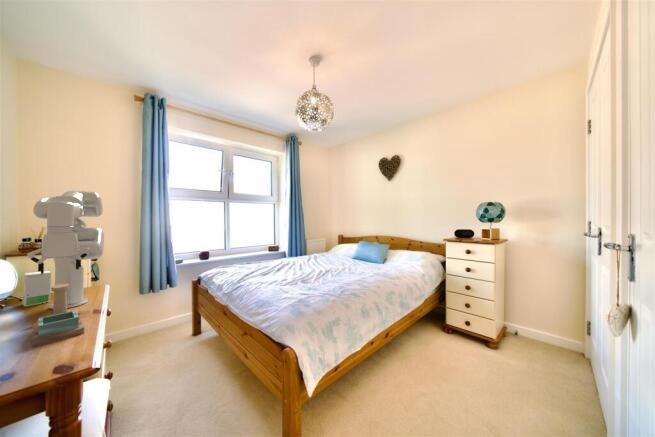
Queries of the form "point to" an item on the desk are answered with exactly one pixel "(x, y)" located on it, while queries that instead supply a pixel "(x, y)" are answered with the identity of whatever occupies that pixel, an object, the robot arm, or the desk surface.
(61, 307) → the handle
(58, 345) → the desk surface
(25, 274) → the skincare box
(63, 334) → the teal open box
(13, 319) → the desk surface
